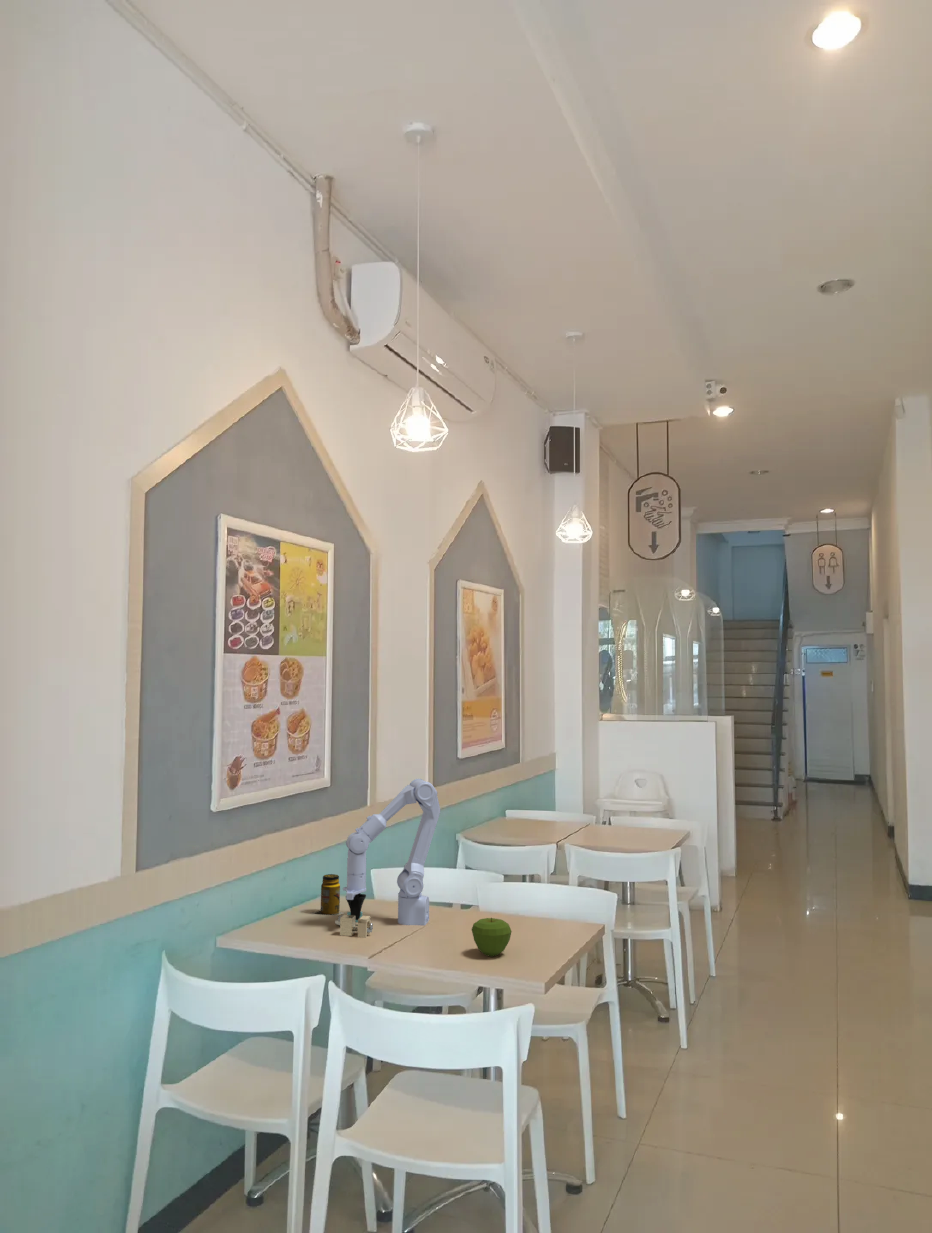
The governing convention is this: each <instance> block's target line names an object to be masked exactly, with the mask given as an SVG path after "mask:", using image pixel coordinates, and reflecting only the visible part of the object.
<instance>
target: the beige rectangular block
mask: <svg viewBox="0 0 932 1233" xmlns="http://www.w3.org/2000/svg"><path fill="white" fill-rule="evenodd" d="M342 915H343V916H342V917H341V918H340V926H339V936H342V937H343V936H344V937H352V936H353V935H355V934H356V932H357V933H358V926H356V922H355V915H347V914H342ZM373 925H374V924H373V922H371V923H369V928H367V932H370V933H372V932H373Z"/></svg>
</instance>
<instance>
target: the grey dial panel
mask: <svg viewBox="0 0 932 1233" xmlns="http://www.w3.org/2000/svg"><path fill="white" fill-rule="evenodd" d="M371 916H372V915H362V917H361V918H359V919H358V922H357V927H358V932H357V938H362V939H363V938H367V937H368V936H367V935H370V934H371V932H367V928H369V923H372V922H371V921H372V920H371V918H372V917H371ZM338 926H339V927H340V925H338Z"/></svg>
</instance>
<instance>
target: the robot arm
mask: <svg viewBox="0 0 932 1233" xmlns="http://www.w3.org/2000/svg"><path fill="white" fill-rule="evenodd" d="M439 801H440V800H439V798H438V790H437V788H436V787H434V785H433V784H432V783H431V782H429V781H426V780H424V779H422V778H416V779H413V780H412V781H411V782H410V783H409V784H407V785H406V786H404V787H403V789H402V790H400V792H399V793H398V794H397V795H396V796H395V797H394V798H393V799H392V800H391V801H390V802H389V803H388V804H387V805H386V806H385V808H384V809H383V810H381V812H379V813H376V814H375V813H373V814H372V815H368V816H367V817H366V820H365V822H363V823H362V825H361V826H359V827H356V828H355V829H354V830H355V832H352V833H350V834H349V835H348V837H347V839H346V840H345V845H346V847H347V862H346V863H347V866H346V886H344V887H342V891H344V892H345V891H346V893H345V894H346V895H345V900H346V901H347V902H346V903H347V904H348V906H349V912H351V915H355V920H358V919H359V918H360V913H361V912H362V907H363V905H364V901H365V900H366V897H367V894H364V893H365V892H367V884H366V883H367V856H366V855H367V850H368V848H369V844H370V843H372V842H373V841H374V840H376V838H377V837H378V836H380V835H381V833H383V831H384V830H385V829H386V828H387V822H388V821H389V820H390V819H391V818H393V816H395V815H396V814H397V813H398V812H400V811H401V809H403V808H404V807H405V806H407V805H412V804H417V803H418V805H419V807H420V809H421V810H422V814H421V818H420V821H419V824H418V828H417V830H416V834H415V837H414V839H413V840H414V841H413V844H412V847H411V850H410V854H409V856H408V861H407V862H406V863H405V865H404V867H403V869H402V871H401V872H400V873H399V874H398V876H397V880H396V884H397V887H398V888H399V892H398V893H397V896H398V897H397V898H398V899H397V923H398V924H399V925H401V926H402V925H404V926H426V925H427V924H428V923H429V921H430V897H429V896H427V895H423V894H422V893H423V891H424V890H423V889H424V877H425V863H426V860H427V857H428V854H429V851H430V847H431V843H432V841H433V837H434V834H435V831H436V827H437V824H438V821H439V817H440V814H441V806H440V802H439Z"/></svg>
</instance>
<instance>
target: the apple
mask: <svg viewBox="0 0 932 1233" xmlns="http://www.w3.org/2000/svg"><path fill="white" fill-rule="evenodd" d="M510 926H511V925H510V924H509V923H508V922H506V921H505V920H503V919H500V918H492V917H486V918H485V917H484V918H481V919H478V920H477V921H475V922H474V923H473V925H472V927H471V933H472V937H473V941H474V943H475V945H476V947H477V948H478V951H480V952H481V954H483V955H484V956H487V957H497V956H498V955H500V954H502V953H503V952H504V951H505V950H506V948H507V946H508V944H509V942H510V940H511V936H512V932H513V931H512V929H511V927H510Z"/></svg>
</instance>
